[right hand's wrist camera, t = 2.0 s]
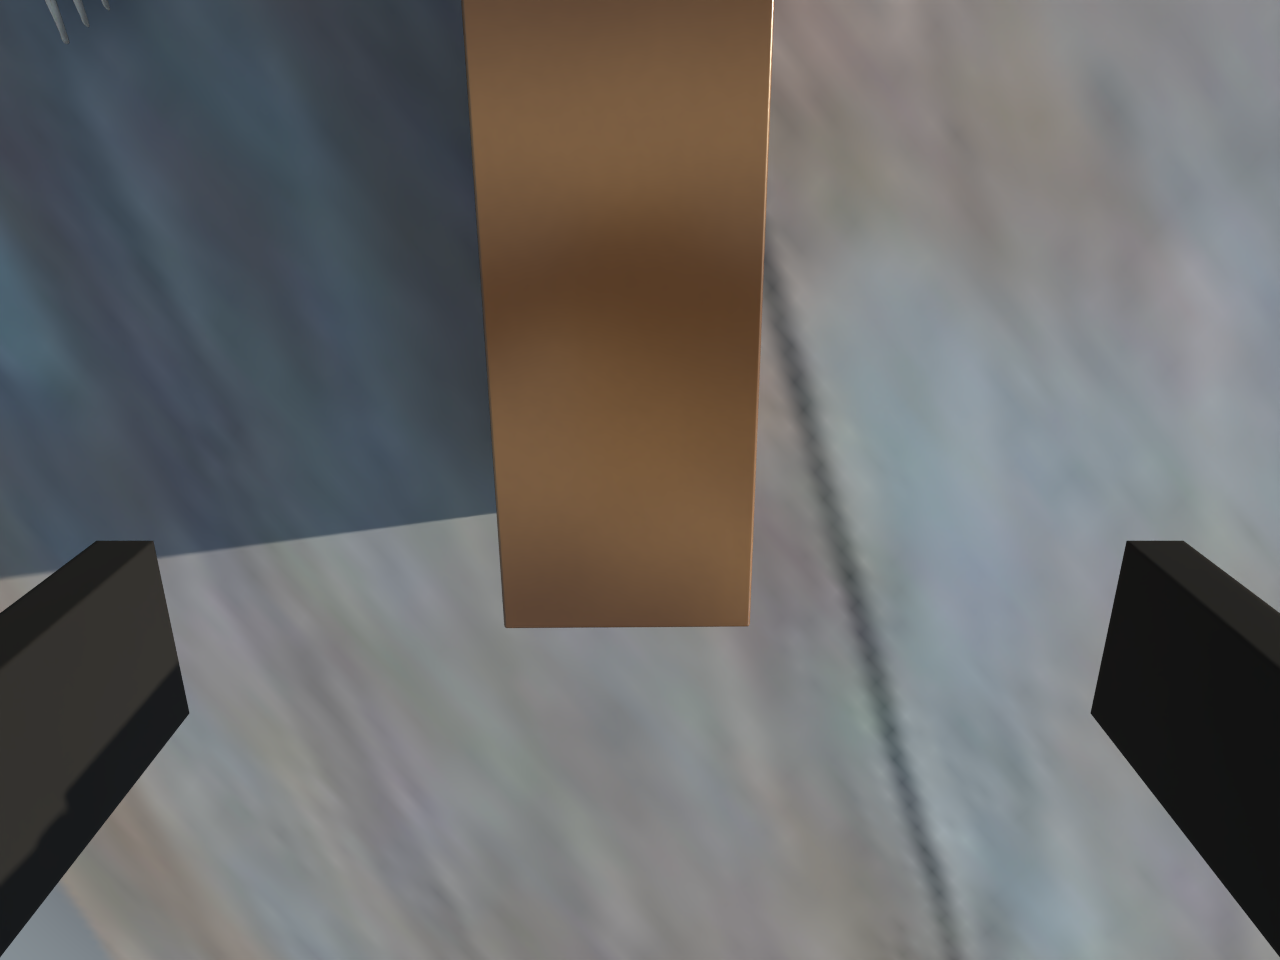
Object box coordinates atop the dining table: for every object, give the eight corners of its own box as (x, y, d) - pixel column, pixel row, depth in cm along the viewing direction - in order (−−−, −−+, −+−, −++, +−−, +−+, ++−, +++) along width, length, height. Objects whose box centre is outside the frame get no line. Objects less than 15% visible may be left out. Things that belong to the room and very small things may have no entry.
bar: (717, 484, 29) (749, 627, 21) (543, 485, 29) (504, 629, 21) (740, -463, 21) (808, -871, 13) (497, -462, 21) (400, -866, 13)
